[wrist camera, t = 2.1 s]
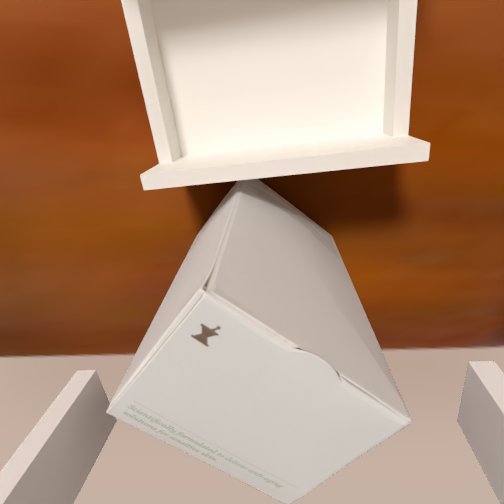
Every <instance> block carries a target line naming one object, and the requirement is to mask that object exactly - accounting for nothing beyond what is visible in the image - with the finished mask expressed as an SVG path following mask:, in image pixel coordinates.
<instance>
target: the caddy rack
mask: <svg viewBox="0 0 504 504" xmlns="http://www.w3.org/2000/svg"><path fill="white" fill-rule="evenodd" d="M121 2H122V6H123V10H124V15H125V19H126V23H127V27H128V32H129V36H130V40H131V44H132V49H133V53H134V57H135V62H136V66H137V70H138V74H139V79H140V83H141V87H142V92H143V96H144V100H145V104H146V109H147V113H148V117H149V121H150V126H151V130H152V134H153V139H154V143H155V147H156V151H157V156H158V160H159V164H158V165H156V166H155V167H153V168H151V169H149V170H148V171H146V172H144V173H142V174H141V175H140V177H141V181H142V185H143V189H144V190H151V189H161V188H171V187H180V186H190V185H200V184H209V183H219V182H229V181H238V180H248V179H258V178H267V177H277V176H287V175H296V174H306V173H316V172H325V171H335V170H344V169H354V168H364V167H373V166H383V165H393V164H402V163H412V162H422V161H429V150H430V143H429V142H426V141H423V140H420V139H417V138H414V137H411V136H408V131H409V116H410V101H411V87H412V72H413V58H414V43H415V28H416V14H417V0H121Z"/></svg>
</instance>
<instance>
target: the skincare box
mask: <svg viewBox="0 0 504 504" xmlns="http://www.w3.org/2000/svg"><path fill="white" fill-rule="evenodd" d="M106 413H108V414H110V415H112V416H114V417H116V418H118V419H120V420H122V421H124V422H126V423H128V424H130V425H132V426H134V427H136V428H138V429H140V430H142V431H144V432H146V433H148V434H150V435H152V436H154V437H156V438H158V439H160V440H162V441H164V442H165V443H167V444H169V445H171V446H173V447H176V448H178V449H179V450H181V451H183V452H185V453H187V454H189V455H191V456H193V457H195V458H197V459H199V460H201V461H203V462H205V463H207V464H209V465H211V466H213V467H215V468H217V469H219V470H220V471H222V472H224V473H226V474H228V475H230V476H232V477H234V478H236V479H238V480H240V481H242V482H244V483H245V484H247V485H249V486H251V487H253V488H255V489H257V490H259V491H261V492H263V493H265V494H267V495H268V496H270V497H272V498H274V499H276V500H278V501H280V502H282V503H284V504H291V503H293V502H294V501H296V500H298V499H299V498H301V497H303V496H304V495H306V494H307V493H308V492H310V491H311V490H313V489H314V488H315V487H317V486H318V485H320V484H321V483H322V482H324V481H325V480H327V479H328V478H330V477H331V476H332V475H334V474H335V473H337V472H338V471H339V470H341V469H342V468H344V467H345V466H347V465H348V464H350V463H351V462H352V461H354V460H355V459H357V458H358V457H360V456H361V455H363V454H364V453H366V452H368V451H369V450H371V449H372V448H374V447H375V446H377V445H378V444H380V443H381V442H383V441H384V440H386V439H387V438H389V437H391V436H392V435H394V434H395V433H397V432H399V431H400V430H402V429H403V428H405V427H406V426H408V425H410V424H411V418H410V415H409V413H408V411H407V408H406V406H405V404H404V401H403V399H402V397H401V395H400V392H399V390H398V388H397V385H396V383H395V381H394V378H393V376H392V374H391V371H390V369H389V367H388V364H387V362H386V360H385V358H384V356H383V353H382V351H381V348H380V346H379V344H378V341H377V339H376V337H375V334H374V332H373V330H372V328H371V325H370V323H369V321H368V318H367V316H366V314H365V311H364V309H363V307H362V305H361V302H360V300H359V298H358V295H357V293H356V291H355V288H354V286H353V284H352V281H351V279H350V277H349V274H348V272H347V270H346V268H345V265H344V263H343V261H342V258H341V256H340V254H339V251H338V249H337V246H336V244H335V242H334V239H333V237H332V236H331V235H330V234H329V233H328V232H327V231H325V230H324V229H323V228H322V227H320V226H319V225H318V224H316V223H315V222H314V221H313V220H311V219H310V218H309V217H307V216H306V215H305V214H303V213H302V212H301V211H300V210H298V209H297V208H296V207H294V206H293V205H292V204H291V203H289V202H288V201H287V200H285V199H284V198H283V197H281V196H280V195H279V194H277V193H276V192H275V191H274V190H272V189H271V188H270V187H268V186H267V185H266V184H264V183H263V182H262V181H260V180H259V179H248V180H238V181H237V182H236V183H235V184H234V186H233V187H232V188H231V190H230V191H229V192H228V193H227V195H226V196H225V197H224V199H223V200H222V201H221V203H220V204H219V205H218V207H217V208H216V209H215V211H214V212H213V213H212V215H211V216H210V218H209V219H208V220H207V222H206V223H205V225H204V226H203V227H202V229H201V230H200V231H199V233H198V234H197V236H196V238H195V240H194V242H193V244H192V246H191V248H190V250H189V252H188V254H187V256H186V258H185V260H184V261H183V263H182V265H181V267H180V269H179V271H178V273H177V275H176V277H175V279H174V280H173V282H172V284H171V286H170V288H169V290H168V292H167V294H166V296H165V298H164V300H163V302H162V304H161V306H160V308H159V310H158V312H157V313H156V315H155V317H154V319H153V321H152V323H151V325H150V327H149V329H148V331H147V333H146V335H145V337H144V339H143V341H142V342H141V344H140V346H139V348H138V350H137V352H136V354H135V356H134V358H133V360H132V362H131V364H130V366H129V368H128V371H127V372H126V374H125V375H124V377H123V379H122V381H121V383H120V385H119V387H118V389H117V391H116V393H115V394H114V397H113V399H112V401H111V403H110V405H109V407H108V409H107V411H106Z"/></svg>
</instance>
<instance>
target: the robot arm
mask: <svg viewBox="0 0 504 504" xmlns="http://www.w3.org/2000/svg"><path fill="white" fill-rule="evenodd" d="M109 405H110V403H109V401H108V398H107V396H106V393H105V391H104V389H103V386H102V384H101V381H100V379H99V376H98V374H97V372H96V370H77V372H76V373H75V374H74V376H73V377H72V378H71V379H70V381H69V382H68V383H67V385H66V386H65V387H64V389H63V390H62V391H61V393H60V394H59V395H58V397H57V398H56V399H55V400H54V402H53V403H52V404H51V406H50V407H49V408H48V410H47V411H46V412H45V414H44V415H43V416H42V418H41V419H40V420H39V421H38V423H37V424H36V426H35V427H34V428H33V429H32V431H31V432H30V433H29V435H28V436H27V437H26V439H25V440H24V441H23V442H22V444H21V445H20V447H19V448H18V449H17V451H16V452H15V453H14V454H13V456H12V457H11V458H10V460H9V461H8V462H7V464H6V465H5V466H4V468H3V469H2V470H1V472H0V504H73V503H74V501H75V499H76V497H77V495H78V493H79V492H80V490H81V488H82V486H83V484H84V482H85V480H86V478H87V476H88V474H89V472H90V471H91V469H92V467H93V465H94V463H95V461H96V459H97V457H98V455H99V453H100V451H101V450H102V448H103V446H104V444H105V442H106V440H107V438H108V436H109V434H110V432H111V430H112V429H113V427H114V424H115V423H116V421H117V420H116V418H115V417H114V416H112V415H110V414H108V413H106V411H107V409H108V407H109ZM457 421H458V423H459V425H460V426H461V428H462V430H463V433H464V435H465V436H466V438H467V440H468V442H469V444H470V446H471V448H472V450H473V452H474V454H475V456H476V458H477V460H478V461H479V463H480V465H481V467H482V469H483V471H484V473H485V475H486V477H487V479H488V481H489V483H490V485H491V487H492V489H493V490H494V492H495V494H496V496H497V498H498V500H499V502H500V504H504V373H503V372H502V371H501V370H500V368H499V367H498V366H497V364H496V363H495V362H494V361H474V362H473V361H472V362H468V366H467V371H466V377H465V382H464V388H463V393H462V398H461V404H460V409H459V415H458V419H457Z"/></svg>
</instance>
